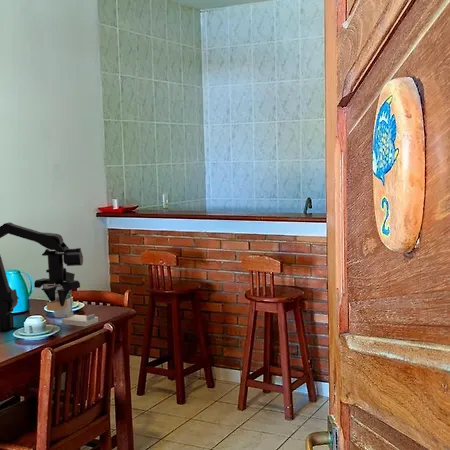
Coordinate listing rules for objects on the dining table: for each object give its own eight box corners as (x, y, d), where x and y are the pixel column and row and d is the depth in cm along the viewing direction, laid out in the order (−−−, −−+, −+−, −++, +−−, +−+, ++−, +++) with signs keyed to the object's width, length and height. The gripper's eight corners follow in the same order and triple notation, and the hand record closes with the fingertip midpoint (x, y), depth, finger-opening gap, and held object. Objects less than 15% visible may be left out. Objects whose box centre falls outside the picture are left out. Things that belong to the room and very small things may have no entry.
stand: (85, 326, 246) (85, 317, 246) (62, 324, 252) (61, 315, 251) (98, 321, 253) (97, 313, 253) (75, 319, 259) (74, 311, 259)
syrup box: (66, 317, 262) (64, 283, 261) (53, 317, 263) (51, 283, 262) (72, 314, 268) (70, 281, 266) (60, 314, 269) (58, 281, 268)
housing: (55, 311, 241) (54, 300, 240) (47, 310, 243) (46, 299, 242) (67, 307, 247) (66, 296, 247) (59, 306, 249) (59, 296, 248)
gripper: (88, 264, 247) (90, 303, 248) (52, 262, 255) (54, 300, 257) (69, 268, 237) (71, 309, 238) (32, 266, 245) (34, 305, 247)
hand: (58, 305), depth 245 cm, fingers closed on housing, 4 cm apart
